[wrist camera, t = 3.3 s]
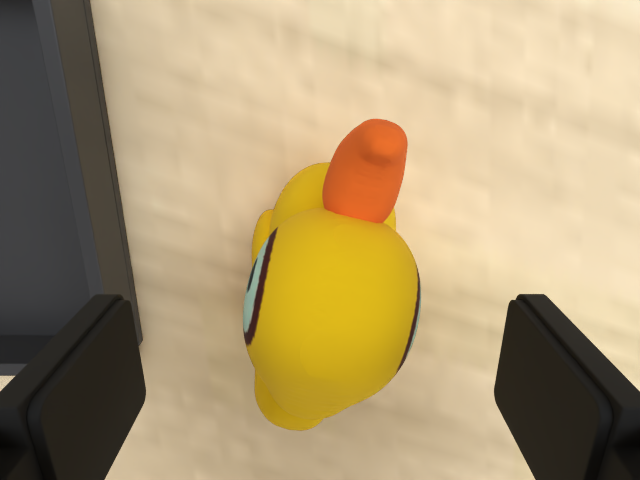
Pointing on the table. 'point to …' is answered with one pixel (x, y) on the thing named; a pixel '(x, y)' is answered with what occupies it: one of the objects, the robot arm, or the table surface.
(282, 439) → the table surface
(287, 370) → the duckling
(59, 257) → the pan
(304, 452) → the table surface
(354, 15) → the table surface
